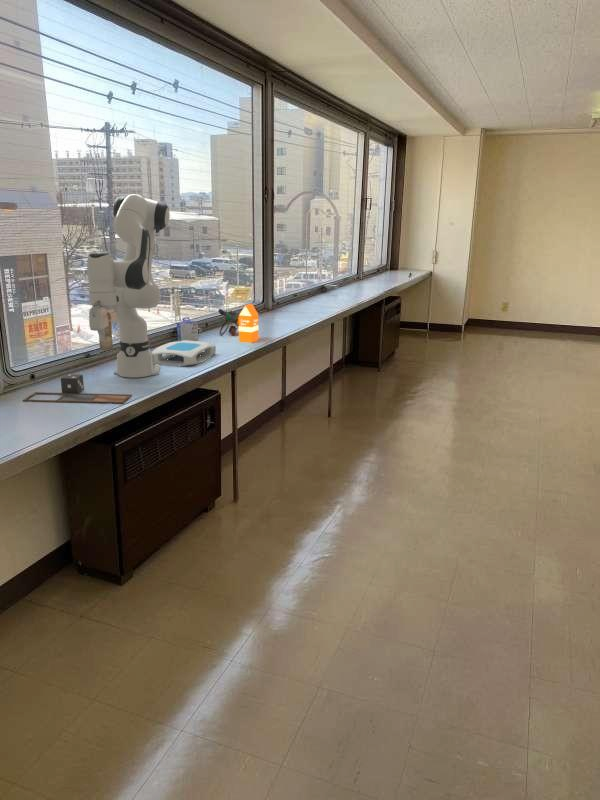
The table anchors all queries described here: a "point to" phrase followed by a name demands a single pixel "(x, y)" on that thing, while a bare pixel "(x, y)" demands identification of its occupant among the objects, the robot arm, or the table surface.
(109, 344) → the pawn
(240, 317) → the orange juice
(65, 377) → the die
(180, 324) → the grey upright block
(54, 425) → the table surface
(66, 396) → the board
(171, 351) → the white step stool
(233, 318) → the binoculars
